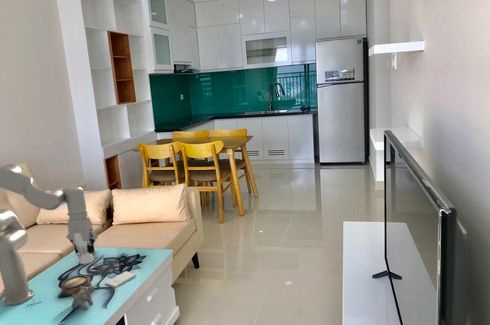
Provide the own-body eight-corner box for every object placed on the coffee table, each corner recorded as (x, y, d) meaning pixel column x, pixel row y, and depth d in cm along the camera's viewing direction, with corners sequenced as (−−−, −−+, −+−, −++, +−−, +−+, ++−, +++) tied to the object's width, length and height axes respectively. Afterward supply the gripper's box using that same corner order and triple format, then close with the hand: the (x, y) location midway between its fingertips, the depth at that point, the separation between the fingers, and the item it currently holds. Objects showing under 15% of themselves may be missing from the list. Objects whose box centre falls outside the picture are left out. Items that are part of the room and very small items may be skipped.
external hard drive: (136, 277, 199) (115, 289, 190) (126, 273, 204) (105, 285, 195) (136, 274, 199) (115, 286, 189) (125, 270, 204) (104, 282, 194)
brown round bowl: (56, 295, 189) (54, 287, 188) (73, 280, 201) (72, 274, 200) (79, 296, 186) (78, 288, 185) (96, 281, 198) (95, 274, 197)
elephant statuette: (69, 313, 173) (65, 297, 171) (80, 296, 185) (77, 281, 182) (90, 311, 173) (87, 295, 171) (100, 295, 184) (97, 280, 182)
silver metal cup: (89, 264, 180) (83, 233, 177) (75, 264, 182) (69, 233, 178) (97, 257, 187) (92, 227, 184) (84, 257, 188) (78, 227, 185)
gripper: (56, 218, 178) (63, 255, 182) (90, 218, 174) (97, 256, 178) (67, 212, 185) (73, 248, 189) (100, 212, 181) (106, 249, 185)
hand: (85, 252), depth 183 cm, fingers closed on silver metal cup, 6 cm apart
